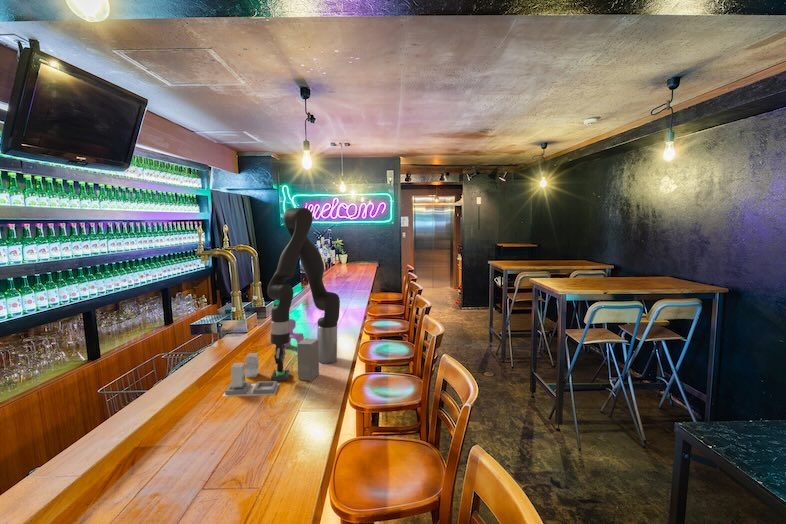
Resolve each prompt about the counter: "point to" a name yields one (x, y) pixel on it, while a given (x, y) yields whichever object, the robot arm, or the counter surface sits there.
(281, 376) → the button housing
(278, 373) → the button
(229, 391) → the grey socket board
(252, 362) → the block
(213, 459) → the counter surface
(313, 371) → the skincare box
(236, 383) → the block
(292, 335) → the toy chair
